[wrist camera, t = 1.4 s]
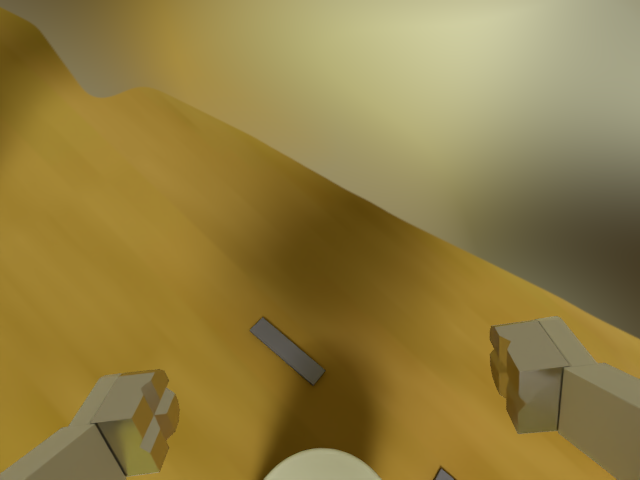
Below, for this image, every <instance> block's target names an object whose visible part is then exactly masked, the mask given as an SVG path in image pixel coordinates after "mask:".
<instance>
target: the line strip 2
mask: <svg viewBox="0 0 640 480" xmlns="http://www.w3.org/2000/svg"><path fill="white" fill-rule="evenodd" d="M435 480H454V479H453V478H452V477H451V476H449V475H448V474H447V473H446V472H445V471H444V470H442V469H440V470H439V472H438V474H437V476H436V478H435Z"/></svg>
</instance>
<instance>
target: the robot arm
mask: <svg viewBox="0 0 640 480" xmlns="http://www.w3.org/2000/svg"><path fill="white" fill-rule="evenodd" d="M490 341H491V343H492V345H493V347H494V350H493V351H492V352H491V353H490V366H491V372H492V377H493V380H494V383H495V386H496V388H497V390H498V392H499V394H500V395H501V396H503V397H504V398H506V410H507V412H508V414H509V416H510V418H511V420H512V423H513V425H514V427H515V429H516V431H517V433H518V434H522V433H535V432H548V431H558V433H559V434H561V435H562V436H563V437H564V438H566V439H567V440H568V441H569V442H571V443H572V444H573V445H575V446H576V447H577V448H578V449H580V450H581V451H582V452H583V453H585V454H586V455H587V456H589V457H590V458H591V459H592V460H594V461H595V462H596V463H597V464H599V465H600V466H601V467H603V468H604V469H605V470H606V471H608V472H609V473H610V474H611V475H613V476H614V477H615V478H617V479H618V480H640V379H638V378H636V377H633V376H631V375H629V374H627V373H625V372H623V371H621V370H619V369H617V368H614V367H612V366H610V365H608V364H606V363H597V362H596V361H595V360H594V358H593V357H592V356H591V355H590V354H589V352H588V351H587V350H586V349H585V347H584V346H583V345H582V344H581V342H580V341H579V340H578V339H577V337H576V336H575V335H574V334H573V332H572V331H571V330H570V329H569V328H568V326H567V325H566V324H565V323H564V321H563V320H562V319H561V318H559V317H557V316H554V317H548V318H541V319H535V320H531V321H524V322H516V323H509V324H502V325H494V326H491V328H490ZM168 382H169V379H168V377H167V375H166V373H165V371H163V370H160V369H156V370H147V371H137V372H128V373H123V374H112V375H105V376H103V377H102V378H100V379H99V380H98V382H97V383H96V385H95V386H94V388H93V389H92V391H91V393H90V394H89V396H88V397H87V399H86V400H85V402H84V403H83V405H82V406H81V408H80V409H79V411H78V412H77V414H76V415H75V417H74V419H73V420H72V422H71V423H70V425H69V426H68V427H64V428H61V429H60V430H58V431H57V432H56V433H54V434H53V435H52V436H50V437H49V438H48V439H46V440H45V441H44V442H42V443H41V444H40V445H38V446H37V447H35V448H34V449H33V450H31V451H30V452H29V453H27V454H26V455H25V456H23V457H22V458H21V459H19V460H18V461H17V462H15V463H14V464H13V465H11V466H10V467H9V468H7V469H6V470H5V471H3V472H2V473H1V474H0V480H125V479H126V477H128V476H135V475H142V474H149V473H157V472H160V470H161V468H162V465H163V462H164V460H165V457H166V454H167V452H168V449H169V446H168V444H167V441H166V440H167V439H168V438H169V437H170V436H171V435H172V434H173V433H174V432H175V431H176V428H177V425H178V422H179V411H180V409H179V404H178V400H177V397H176V395H175V393H174V392H172V391H171V390H169V389H168V388H166V387H167V384H168Z"/></svg>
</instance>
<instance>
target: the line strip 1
mask: <svg viewBox="0 0 640 480" xmlns="http://www.w3.org/2000/svg"><path fill="white" fill-rule="evenodd" d="M250 332H251V333H253V334H254V335H255V336H256V337H257V338H258V339H260V340H261V341H262V342H263V343H264V344H265V345H266V346H268V347H269V348H270V349H271V350H272V351H273V352H275V353H276V354H277V355H278V356H279V357H280V358H282V359H283V360H284V361H285V362H286V363H287V364H288V365H290V366H291V367H292V368H293V369H294V370H295V371H297V372H298V373H299V374H300V375H301V376H302V377H303V378H305V379H306V380H307V381H308V382H309V383H310V384H312V385H314V384H315V383H316V382H317V380H318V379H319V378H320V377H321V375H322V374H323V373H324V372H325V370H324V369H323V368H322V367H321V366H320V365H318V364H317V363H316V362H315V361H314V360H312V359H311V358H310V357H309V356H308V355H307V354H305V353H304V352H303V351H302V350H301V349H299V348H298V347H297V346H296V345H295V344H294V343H292V342H291V341H290V340H289V339H288V338H286V337H285V336H284V335H283V334H282V333H281V332H279V331H278V330H277V329H276V328H275V327H273V326H272V325H271V324H270V323H269V322H268V321H266V320H265V319H264V318H262V319H260V320H259V321H258V322H257V323H256V324H255V325H254V326H253V327H252V328H251V329H250Z"/></svg>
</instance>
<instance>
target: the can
mask: <svg viewBox="0 0 640 480" xmlns="http://www.w3.org/2000/svg"><path fill="white" fill-rule="evenodd" d="M264 480H382V479H381V478H380V477H379V476H378V475H377V473H376V472H375V471H374V470H373V469H372V468H371V467H369V466H368V465H367V464H366V463H364V462H363V461H362V460H360V459H359V458H357V457H355V456H353V455H351V454H349V453H346V452H343V451H340V450H336V449H330V448H314V449H308V450H304V451H301V452H298V453H296V454H294V455H291V456H290V457H288V458H286V459H285V460H283V461H282V462H280V463H279V464H278V465H277V466H275V467H274V468H273V469H272V470H271V471H270V472H269V473H268V474H267V476H266V477H265V478H264Z"/></svg>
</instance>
